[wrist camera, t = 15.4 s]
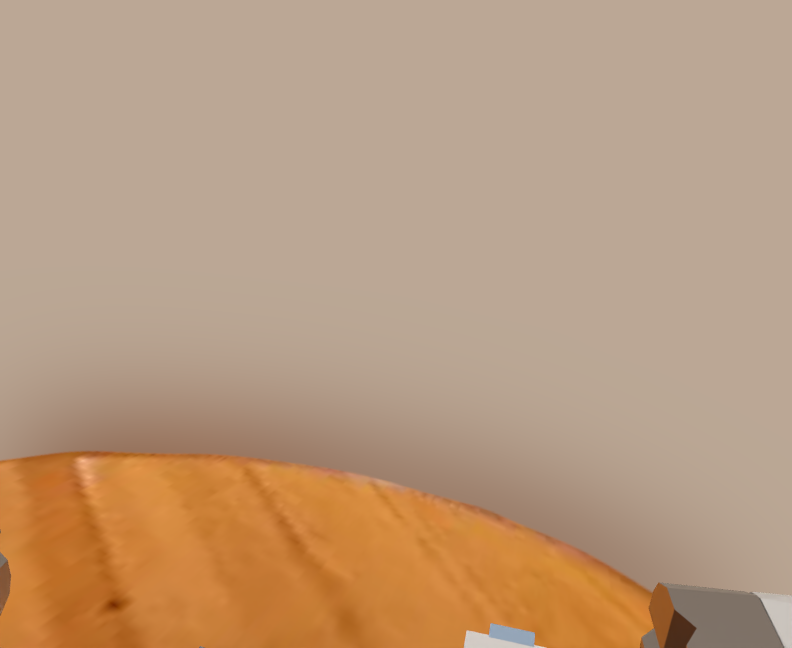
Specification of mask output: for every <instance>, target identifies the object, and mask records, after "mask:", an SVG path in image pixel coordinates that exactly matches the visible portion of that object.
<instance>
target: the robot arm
mask: <svg viewBox="0 0 792 648" xmlns="http://www.w3.org/2000/svg"><path fill="white" fill-rule="evenodd" d="M0 533H1V531H0ZM10 581H11V574H10V569H9V565H8V560H7V559H6V558H5V557H4V556H3V555H2V554H1V553H0V615H1V613H2V610H3V608H4V606H5V603H6V601H7V599H8V596H9V593H10ZM649 611H650V615H651V618H652V622H653V625H654V629H652V630H651V631H650V632H648V633H647V634H646V635H644V636H643V637H642V638H641V643H640V648H792V596H791V595H780V594H771V593H770V594H769V593H760V592H750V593H747V592H743V591H734V590H723V589H715V588H706V587H696V586H687V585H677V584H668V583H658V584H657V586H656V588H655V589H654V591H653V594H652V598H651V602H650V605H649Z"/></svg>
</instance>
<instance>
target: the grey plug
mask: <svg viewBox="0 0 792 648" xmlns="http://www.w3.org/2000/svg"><path fill="white" fill-rule="evenodd" d="M534 639H535V633H533V632H529V631H524V630H520V629H515V628H510V627H506V626H501V625H496V624H492V623H491V625H490V632H489V635H486V634H481V633H477V632H472V631H467V633H466V638H465V644H464V648H545V647H540V646H535V645H534Z"/></svg>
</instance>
